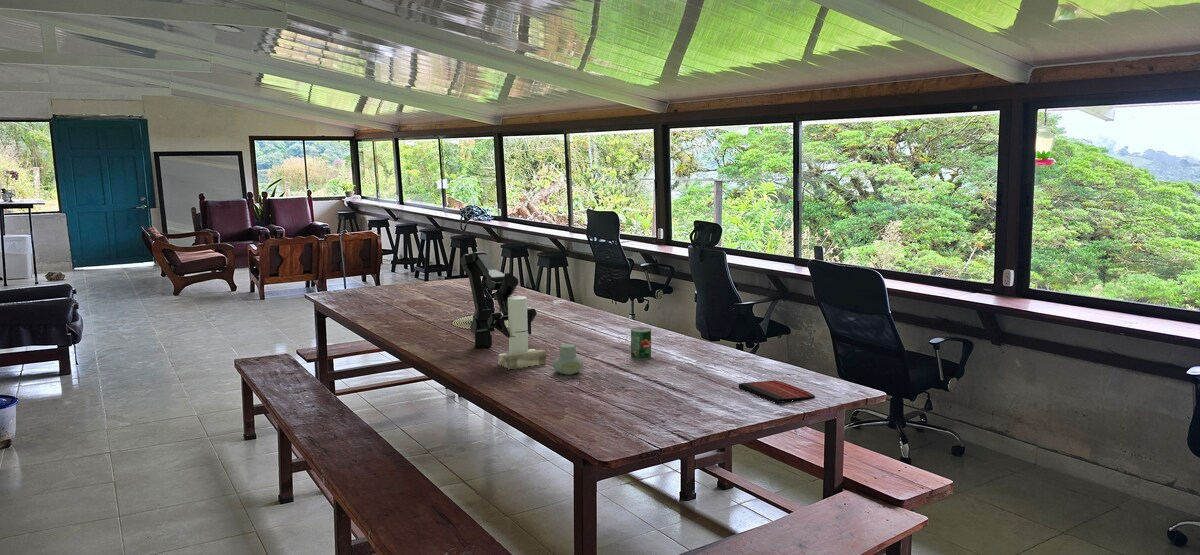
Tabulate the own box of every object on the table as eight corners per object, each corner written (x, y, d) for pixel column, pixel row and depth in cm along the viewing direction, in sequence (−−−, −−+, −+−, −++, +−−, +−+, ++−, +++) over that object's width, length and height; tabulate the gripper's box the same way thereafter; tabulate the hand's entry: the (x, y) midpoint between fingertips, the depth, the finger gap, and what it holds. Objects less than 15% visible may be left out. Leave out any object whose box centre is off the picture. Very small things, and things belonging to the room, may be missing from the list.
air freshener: (555, 376, 290) (555, 349, 289) (550, 371, 298) (550, 344, 297) (585, 374, 293) (585, 347, 292) (579, 368, 301) (579, 342, 300)
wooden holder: (498, 364, 308) (498, 351, 307) (533, 358, 316) (533, 346, 315) (510, 369, 300) (509, 356, 299) (545, 364, 308) (545, 351, 307)
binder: (778, 398, 256) (738, 382, 274) (778, 406, 256) (737, 389, 274) (818, 394, 263) (776, 378, 281) (817, 401, 263) (775, 385, 282)
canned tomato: (649, 360, 312) (649, 331, 311) (629, 359, 314) (629, 331, 312) (652, 355, 320) (652, 327, 319) (632, 354, 322) (632, 326, 320)
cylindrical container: (527, 365, 307) (525, 299, 303) (508, 365, 307) (506, 299, 303) (529, 360, 314) (527, 295, 310) (510, 360, 314) (509, 296, 310)
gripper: (489, 292, 304) (503, 326, 297) (534, 287, 315) (548, 320, 307) (481, 309, 312) (494, 343, 305) (524, 304, 322) (539, 337, 315)
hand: (519, 335), depth 308 cm, fingers open, 9 cm apart
